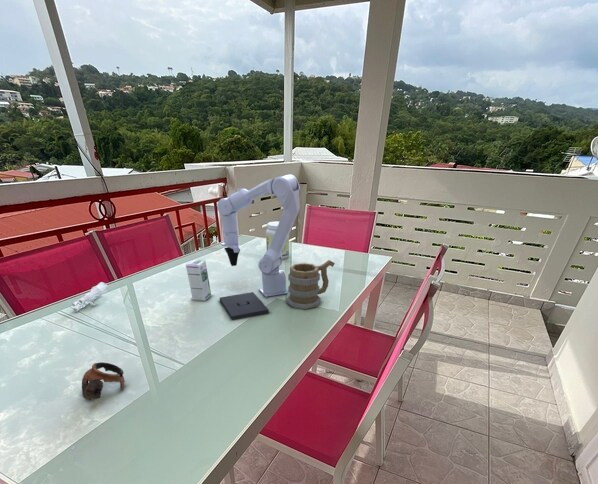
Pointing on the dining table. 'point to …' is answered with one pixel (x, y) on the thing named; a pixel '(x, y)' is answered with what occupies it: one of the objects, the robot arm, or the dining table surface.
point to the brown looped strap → (95, 376)
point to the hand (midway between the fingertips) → (233, 265)
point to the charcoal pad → (246, 309)
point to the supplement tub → (269, 236)
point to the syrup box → (198, 280)
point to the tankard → (307, 284)
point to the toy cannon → (91, 296)
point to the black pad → (238, 299)
